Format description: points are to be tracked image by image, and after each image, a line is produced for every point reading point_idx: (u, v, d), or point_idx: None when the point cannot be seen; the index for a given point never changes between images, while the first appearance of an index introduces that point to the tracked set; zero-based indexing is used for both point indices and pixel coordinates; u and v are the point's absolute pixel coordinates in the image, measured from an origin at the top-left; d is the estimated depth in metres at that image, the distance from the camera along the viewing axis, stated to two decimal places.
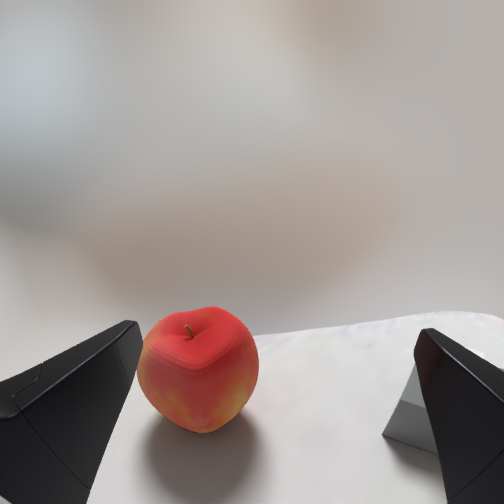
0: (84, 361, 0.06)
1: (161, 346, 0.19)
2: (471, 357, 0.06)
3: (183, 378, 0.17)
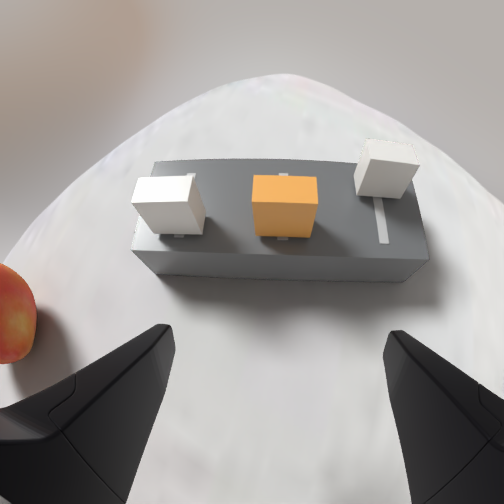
0: (123, 370, 0.06)
1: None
2: (439, 361, 0.06)
3: None
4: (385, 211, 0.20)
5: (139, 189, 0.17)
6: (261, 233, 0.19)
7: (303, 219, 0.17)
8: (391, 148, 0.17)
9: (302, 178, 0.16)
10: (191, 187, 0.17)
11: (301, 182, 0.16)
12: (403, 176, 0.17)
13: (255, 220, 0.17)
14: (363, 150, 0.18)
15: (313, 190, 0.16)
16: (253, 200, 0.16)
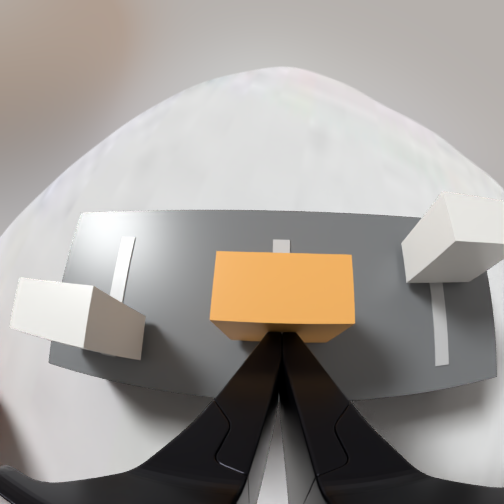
0: (271, 387, 0.06)
1: None
2: (314, 371, 0.06)
3: None
4: (446, 305, 0.11)
5: (18, 301, 0.07)
6: (240, 339, 0.10)
7: (318, 333, 0.08)
8: (483, 212, 0.08)
9: (322, 259, 0.07)
10: (92, 311, 0.07)
11: (320, 270, 0.07)
12: (490, 259, 0.08)
13: (225, 332, 0.09)
14: (433, 212, 0.09)
15: (345, 289, 0.07)
16: (213, 316, 0.07)
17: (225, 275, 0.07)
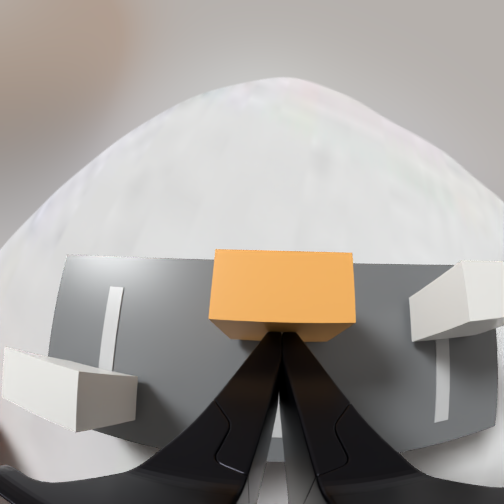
0: (270, 387, 0.06)
1: None
2: (313, 371, 0.06)
3: None
4: (451, 360, 0.10)
5: (6, 372, 0.06)
6: (240, 338, 0.10)
7: (318, 333, 0.08)
8: (501, 280, 0.07)
9: (322, 257, 0.07)
10: (80, 395, 0.06)
11: (321, 268, 0.07)
12: (502, 323, 0.07)
13: (224, 331, 0.09)
14: (448, 279, 0.08)
15: (346, 288, 0.07)
16: (212, 315, 0.07)
17: (224, 273, 0.07)
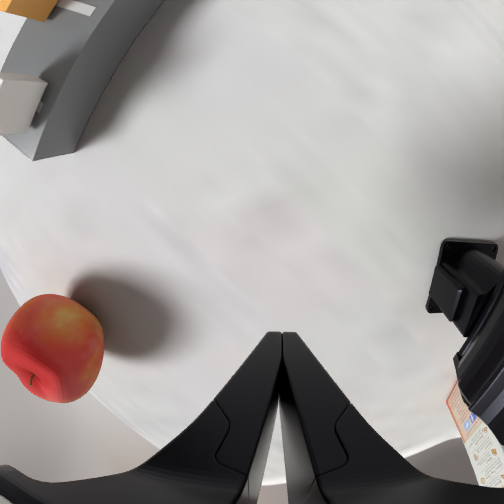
0: (270, 387, 0.06)
1: (54, 397, 0.18)
2: (313, 371, 0.06)
3: (68, 380, 0.18)
4: None
5: None
6: (44, 16, 0.10)
7: None
8: None
9: None
10: None
11: None
12: None
13: (26, 15, 0.09)
14: None
15: None
16: (5, 10, 0.07)
17: (0, 5, 0.07)
